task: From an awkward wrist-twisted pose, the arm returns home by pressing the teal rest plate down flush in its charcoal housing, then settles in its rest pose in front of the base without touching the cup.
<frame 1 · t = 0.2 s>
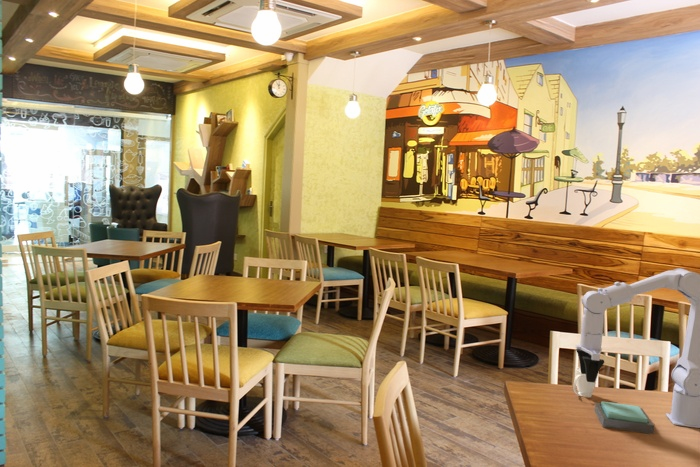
hand: (587, 377, 170), 10 cm above the table, fingers open, 7 cm apart
plate housing: (622, 421, 163), on the table
cup: (582, 396, 183), on the table
rest plate: (623, 412, 163), point 3 cm above the table, slide at 0.0 cm
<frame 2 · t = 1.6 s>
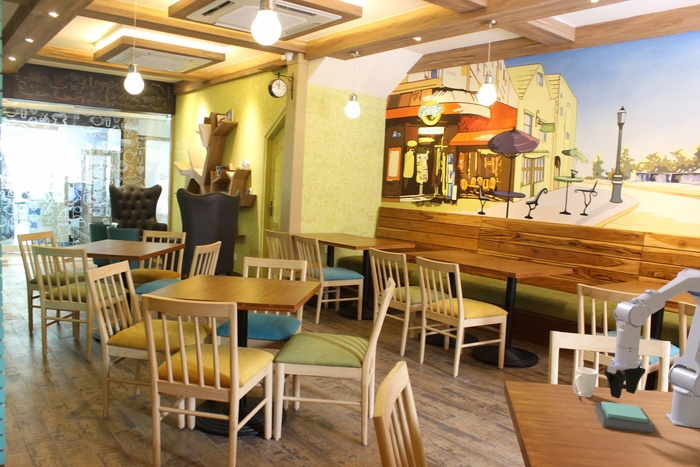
hand: (622, 394, 158), 9 cm above the table, fingers open, 7 cm apart
nothing on the table moved.
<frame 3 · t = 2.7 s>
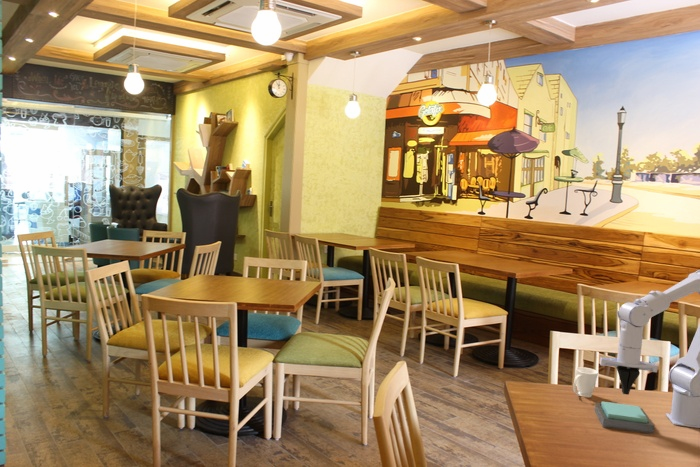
hand: (625, 393, 163), 8 cm above the table, fingers closed
nothing on the table moved.
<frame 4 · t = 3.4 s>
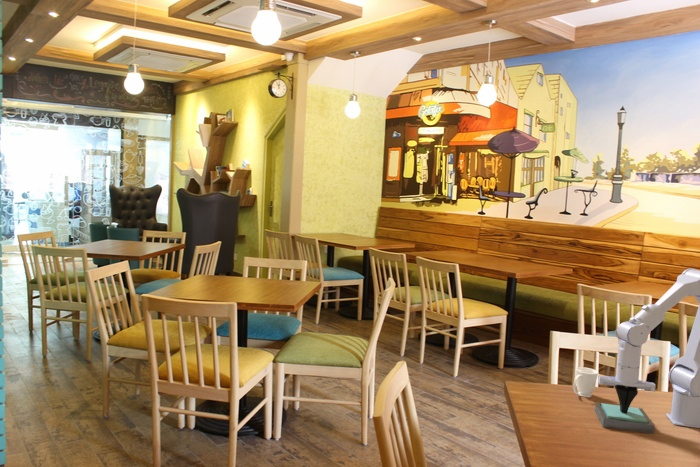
hand: (623, 412, 163), 3 cm above the table, fingers closed, pressing on rest plate
rest plate: (623, 414, 163), point 2 cm above the table, slide at 0.6 cm, touching gripper
everything else where it was.
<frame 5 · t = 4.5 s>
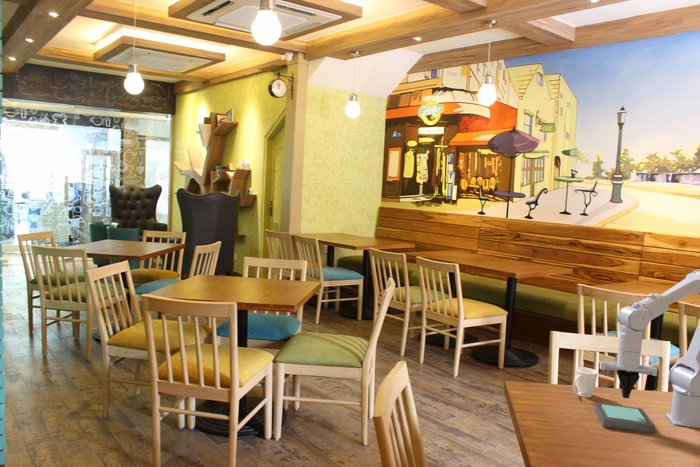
hand: (625, 397, 163), 7 cm above the table, fingers closed
rest plate: (623, 415, 163), point 2 cm above the table, slide at 0.9 cm
everything else where it was.
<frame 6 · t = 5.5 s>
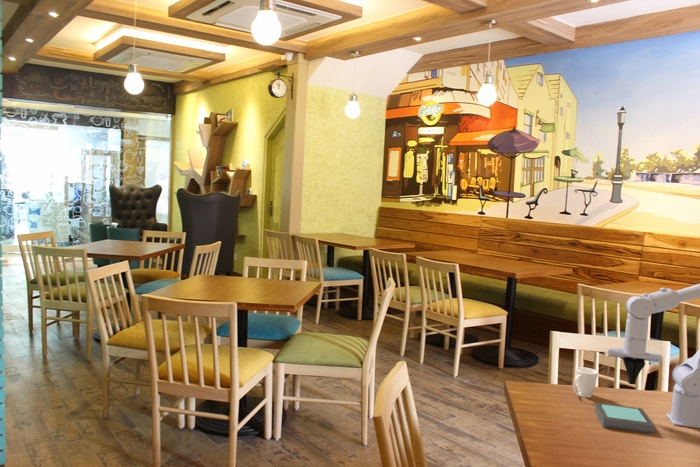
hand: (631, 383, 169), 9 cm above the table, fingers closed
nothing on the table moved.
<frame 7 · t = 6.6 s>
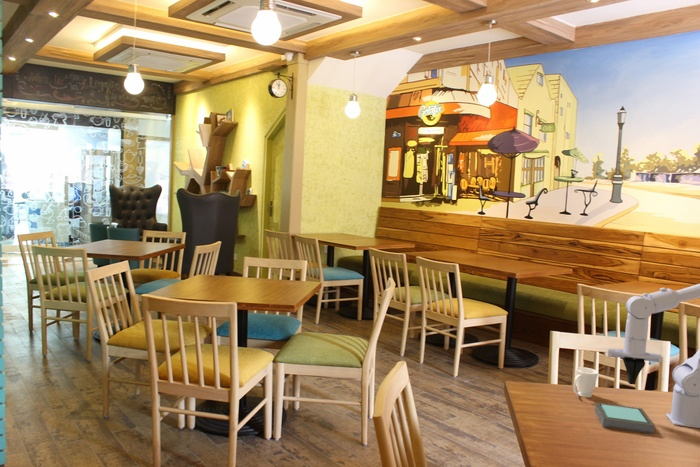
hand: (631, 383, 169), 9 cm above the table, fingers closed
nothing on the table moved.
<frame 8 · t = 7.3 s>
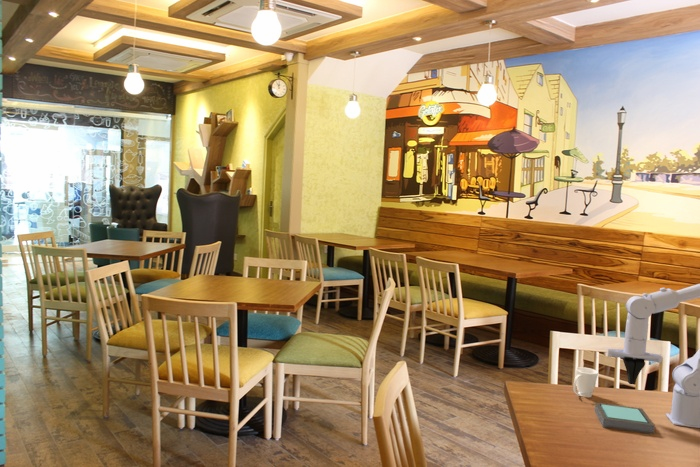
hand: (631, 383, 169), 9 cm above the table, fingers closed
nothing on the table moved.
at the end: rest plate slide at 0.9 cm; cup moved 0.2 cm from its start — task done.
